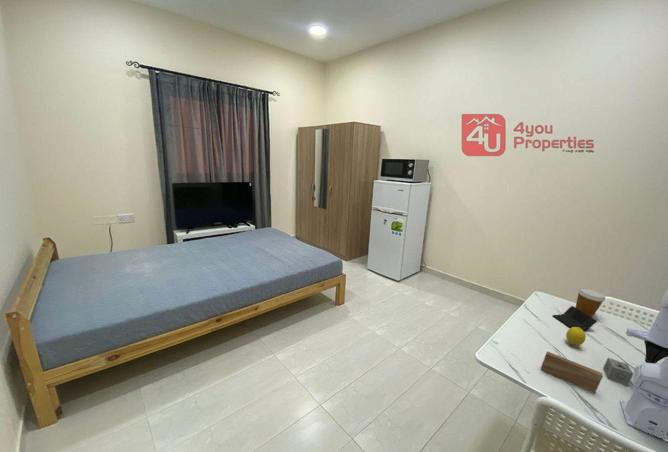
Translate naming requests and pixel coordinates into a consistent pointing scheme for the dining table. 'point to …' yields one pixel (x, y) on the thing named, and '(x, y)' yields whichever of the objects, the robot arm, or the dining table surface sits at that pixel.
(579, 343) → the lemon
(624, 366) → the dice cube
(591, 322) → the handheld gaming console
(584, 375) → the brown wooden block
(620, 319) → the dining table surface
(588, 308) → the disposable coffee cup
